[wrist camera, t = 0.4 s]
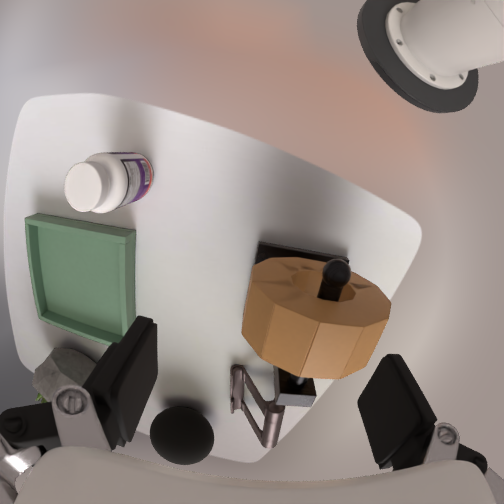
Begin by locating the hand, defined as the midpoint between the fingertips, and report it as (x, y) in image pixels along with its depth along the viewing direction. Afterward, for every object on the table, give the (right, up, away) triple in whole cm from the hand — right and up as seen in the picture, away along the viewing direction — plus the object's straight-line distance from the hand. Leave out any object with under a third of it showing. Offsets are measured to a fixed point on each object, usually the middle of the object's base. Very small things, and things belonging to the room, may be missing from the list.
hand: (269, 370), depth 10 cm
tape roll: (+4, 0, +11) cm, 12 cm away
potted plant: (-30, -16, +27) cm, 43 cm away
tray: (-23, +1, +21) cm, 31 cm away
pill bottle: (-14, +13, +17) cm, 25 cm away
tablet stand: (0, -14, +26) cm, 30 cm away
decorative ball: (-11, -22, +29) cm, 38 cm away
